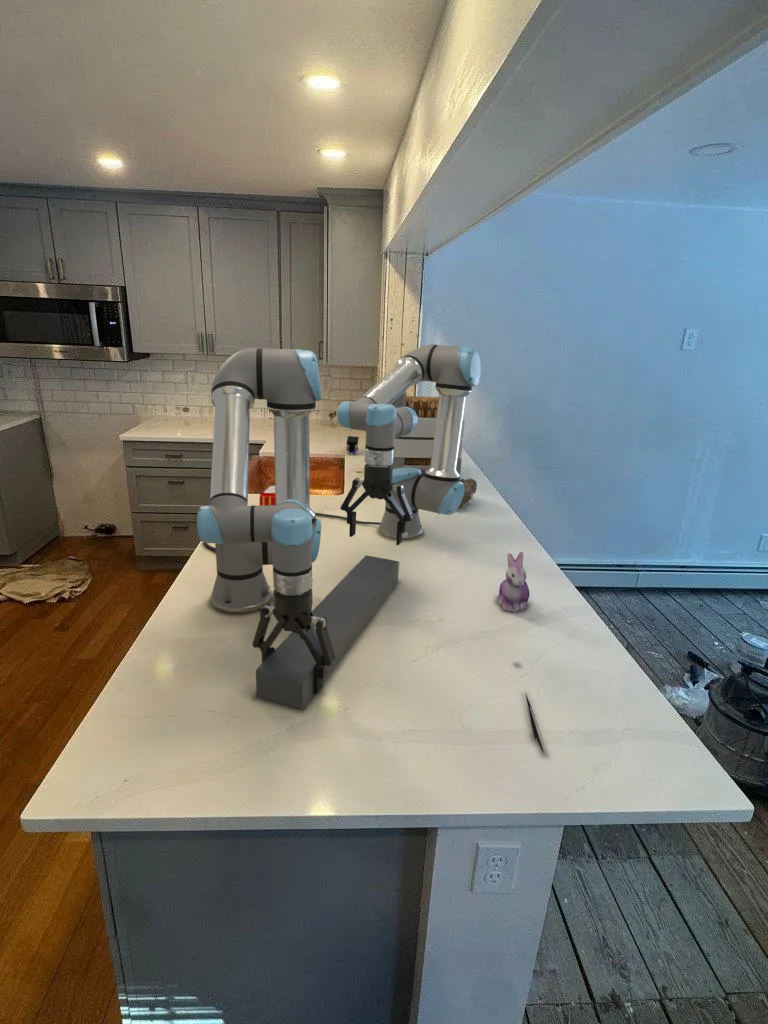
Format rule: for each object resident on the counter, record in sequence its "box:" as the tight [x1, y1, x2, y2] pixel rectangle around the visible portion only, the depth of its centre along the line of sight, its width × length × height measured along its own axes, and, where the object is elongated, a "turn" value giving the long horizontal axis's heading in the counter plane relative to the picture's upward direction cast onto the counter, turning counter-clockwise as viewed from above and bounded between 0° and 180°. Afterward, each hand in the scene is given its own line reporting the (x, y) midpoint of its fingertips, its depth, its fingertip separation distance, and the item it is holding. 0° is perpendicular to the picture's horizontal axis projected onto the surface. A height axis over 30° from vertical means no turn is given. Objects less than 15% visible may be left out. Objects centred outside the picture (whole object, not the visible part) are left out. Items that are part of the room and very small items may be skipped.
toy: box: [259, 485, 276, 506], centre depth 208 cm, size 12×13×30 cm
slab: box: [255, 554, 400, 711], centre depth 138 cm, size 60×10×6 cm, turn 161°
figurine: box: [497, 551, 530, 612], centre depth 152 cm, size 9×10×15 cm
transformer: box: [391, 390, 465, 480], centre depth 268 cm, size 34×33×41 cm
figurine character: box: [345, 435, 360, 455], centre depth 308 cm, size 7×8×15 cm
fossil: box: [457, 477, 478, 510], centre depth 233 cm, size 22×10×15 cm
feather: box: [525, 691, 547, 753], centre depth 115 cm, size 2×28×2 cm
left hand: (294, 683), depth 118 cm, fingers closed on slab, 10 cm apart
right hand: (375, 539), depth 156 cm, fingers open, 13 cm apart
